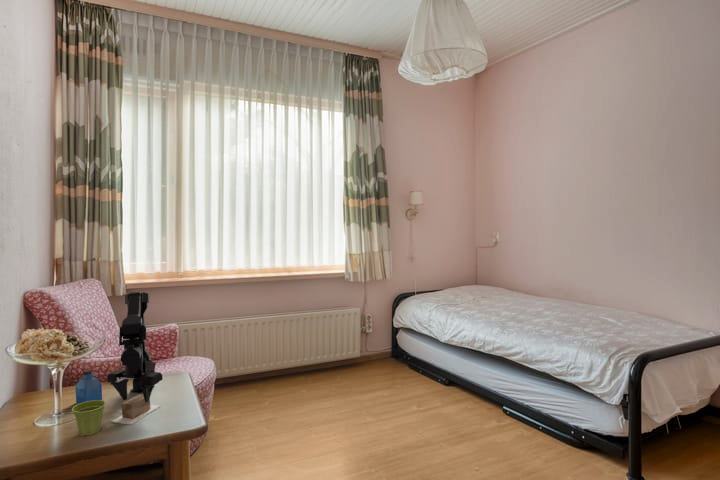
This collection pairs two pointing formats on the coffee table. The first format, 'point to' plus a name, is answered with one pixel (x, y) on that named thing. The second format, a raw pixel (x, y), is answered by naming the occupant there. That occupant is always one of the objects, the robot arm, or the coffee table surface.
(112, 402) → the coffee table surface
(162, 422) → the coffee table surface
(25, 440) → the coffee table surface
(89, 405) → the plant pot
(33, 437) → the coffee table surface
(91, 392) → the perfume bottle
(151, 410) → the placemat
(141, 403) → the walnut block
